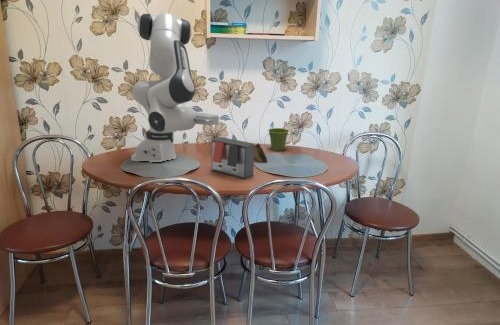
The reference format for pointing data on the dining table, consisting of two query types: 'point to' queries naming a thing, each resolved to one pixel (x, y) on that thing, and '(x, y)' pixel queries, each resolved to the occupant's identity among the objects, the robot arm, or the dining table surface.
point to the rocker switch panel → (243, 158)
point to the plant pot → (278, 138)
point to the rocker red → (218, 152)
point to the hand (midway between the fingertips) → (205, 116)
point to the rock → (259, 154)
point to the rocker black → (232, 155)
